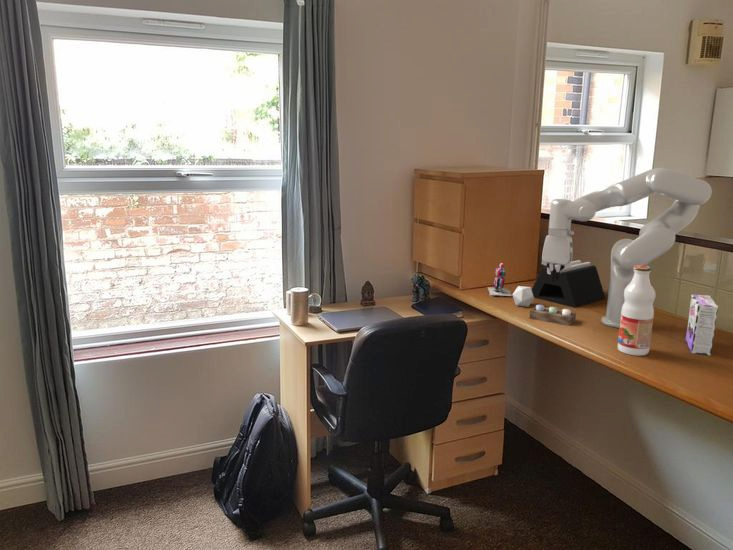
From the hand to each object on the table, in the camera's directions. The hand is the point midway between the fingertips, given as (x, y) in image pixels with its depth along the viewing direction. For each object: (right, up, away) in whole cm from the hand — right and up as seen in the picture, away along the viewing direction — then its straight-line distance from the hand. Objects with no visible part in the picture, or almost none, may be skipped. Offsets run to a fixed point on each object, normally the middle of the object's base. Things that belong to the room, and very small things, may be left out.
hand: (554, 281), depth 216 cm
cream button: (+4, -15, 0) cm, 16 cm away
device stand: (+16, -8, +34) cm, 38 cm away
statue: (-12, -6, +40) cm, 42 cm away
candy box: (+39, -22, -26) cm, 51 cm away
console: (0, -14, +3) cm, 15 cm away
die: (-6, -10, +22) cm, 25 cm away
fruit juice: (+16, -22, -30) cm, 40 cm away
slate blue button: (-4, -14, +6) cm, 15 cm away
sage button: (0, -14, +3) cm, 15 cm away
